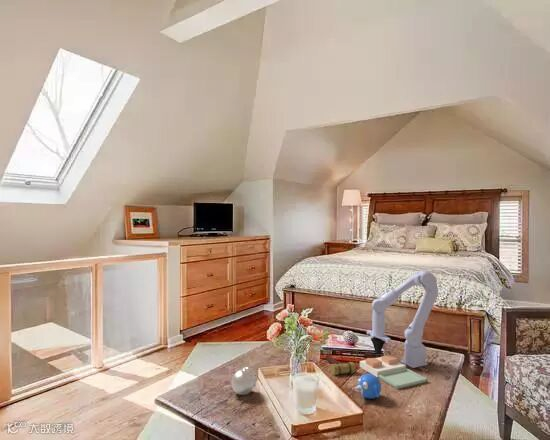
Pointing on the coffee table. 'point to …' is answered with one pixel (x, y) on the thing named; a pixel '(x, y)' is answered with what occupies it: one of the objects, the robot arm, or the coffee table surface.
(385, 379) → the tray
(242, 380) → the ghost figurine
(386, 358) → the tile
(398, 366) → the board
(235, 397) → the coffee table surface
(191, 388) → the coffee table surface
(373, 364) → the tile
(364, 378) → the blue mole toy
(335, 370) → the gavel
